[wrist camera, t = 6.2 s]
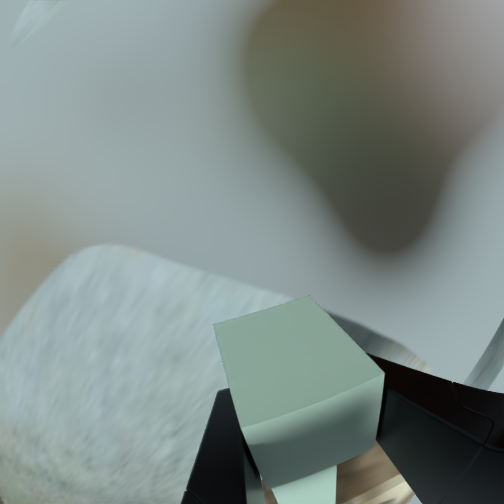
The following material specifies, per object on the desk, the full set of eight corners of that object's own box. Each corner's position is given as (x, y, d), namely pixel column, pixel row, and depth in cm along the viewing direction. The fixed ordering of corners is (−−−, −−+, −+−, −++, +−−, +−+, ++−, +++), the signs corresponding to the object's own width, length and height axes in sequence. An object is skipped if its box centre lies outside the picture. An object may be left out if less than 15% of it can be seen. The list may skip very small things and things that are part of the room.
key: (290, 529, 15) (306, 566, 12) (213, 324, 9) (240, 428, 5) (326, 516, 16) (345, 552, 12) (309, 295, 9) (384, 372, 5)
